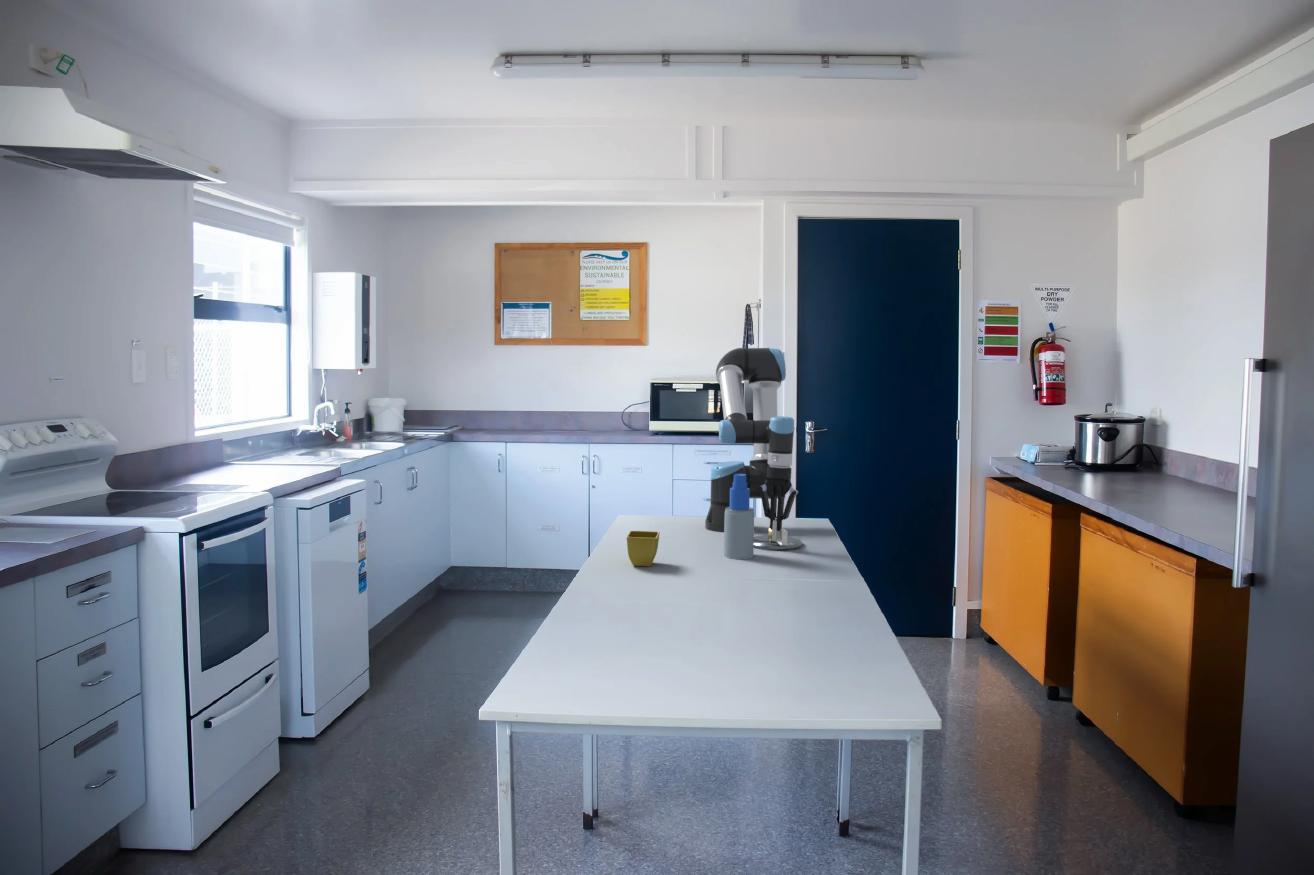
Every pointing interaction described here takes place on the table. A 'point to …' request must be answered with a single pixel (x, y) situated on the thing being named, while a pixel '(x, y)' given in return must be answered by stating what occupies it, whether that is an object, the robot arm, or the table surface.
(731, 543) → the spray bottle
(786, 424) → the robot arm
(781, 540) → the needle dial
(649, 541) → the gold square bowl
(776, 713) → the table surface
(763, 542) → the gauge plate
